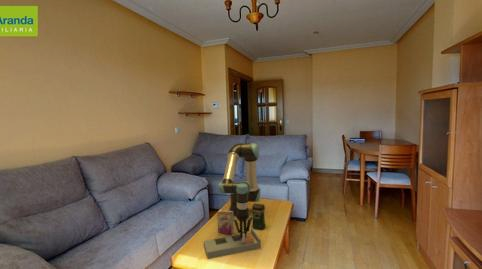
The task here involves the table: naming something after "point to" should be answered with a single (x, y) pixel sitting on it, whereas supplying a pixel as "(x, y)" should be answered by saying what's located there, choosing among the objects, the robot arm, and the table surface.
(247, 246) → the block
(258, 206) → the coffee jar
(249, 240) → the block
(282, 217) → the table surface
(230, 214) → the candy bar box
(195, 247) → the table surface
